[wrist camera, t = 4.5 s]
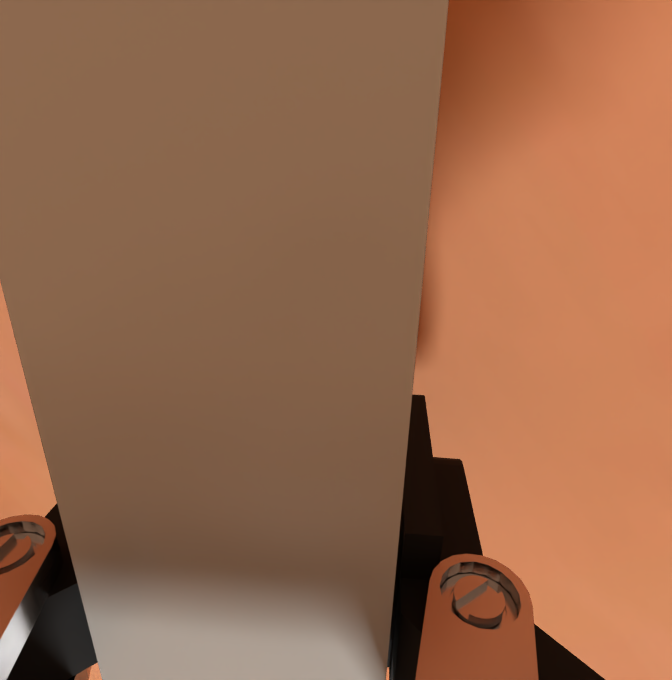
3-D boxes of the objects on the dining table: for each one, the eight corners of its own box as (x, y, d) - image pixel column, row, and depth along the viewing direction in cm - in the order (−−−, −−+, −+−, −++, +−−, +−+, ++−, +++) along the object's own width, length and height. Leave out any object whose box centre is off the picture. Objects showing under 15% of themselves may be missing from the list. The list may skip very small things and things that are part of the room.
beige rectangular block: (414, 33, 9) (460, -123, 3) (371, 645, 15) (361, 941, 10) (194, 31, 9) (-101, -114, 4) (242, 631, 15) (161, 911, 10)
